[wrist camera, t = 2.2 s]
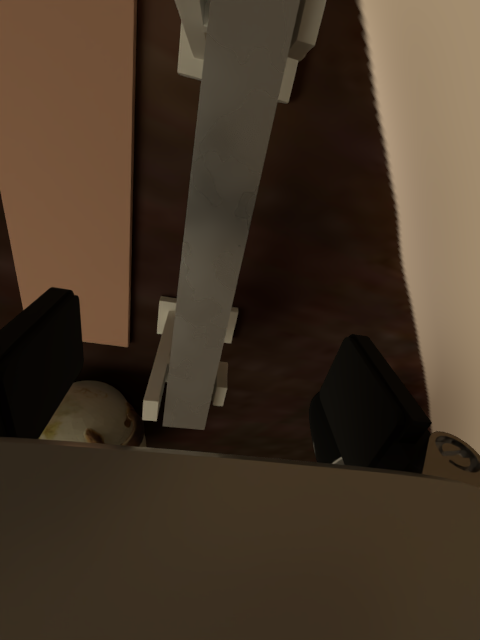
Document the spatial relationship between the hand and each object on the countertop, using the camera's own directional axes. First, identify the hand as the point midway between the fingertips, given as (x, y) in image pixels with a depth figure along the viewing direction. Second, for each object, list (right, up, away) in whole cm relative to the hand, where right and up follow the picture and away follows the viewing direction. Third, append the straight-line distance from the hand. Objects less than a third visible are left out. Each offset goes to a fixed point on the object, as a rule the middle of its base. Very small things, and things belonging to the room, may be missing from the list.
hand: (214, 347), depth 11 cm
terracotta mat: (-13, +12, +14) cm, 23 cm away
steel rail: (-1, +6, +8) cm, 10 cm away
